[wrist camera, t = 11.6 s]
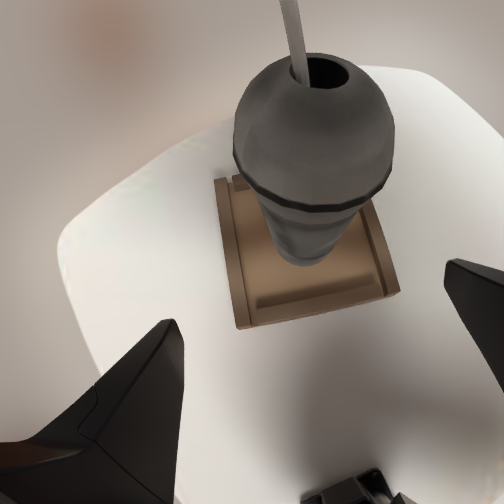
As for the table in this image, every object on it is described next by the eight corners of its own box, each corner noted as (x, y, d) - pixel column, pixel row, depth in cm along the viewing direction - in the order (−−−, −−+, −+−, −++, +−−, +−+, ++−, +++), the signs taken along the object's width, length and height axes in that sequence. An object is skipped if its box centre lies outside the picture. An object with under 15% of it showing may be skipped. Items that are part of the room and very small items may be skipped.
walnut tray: (393, 295, 22) (400, 291, 21) (239, 329, 22) (236, 327, 21) (350, 165, 26) (353, 155, 25) (217, 189, 27) (213, 179, 25)
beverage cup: (348, 289, 22) (506, 45, 3) (249, 279, 23) (137, 9, 4) (350, 201, 24) (415, -47, 6) (262, 193, 25) (218, -62, 7)
